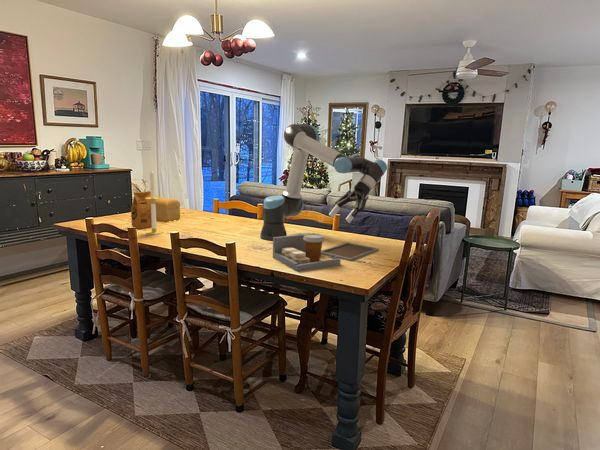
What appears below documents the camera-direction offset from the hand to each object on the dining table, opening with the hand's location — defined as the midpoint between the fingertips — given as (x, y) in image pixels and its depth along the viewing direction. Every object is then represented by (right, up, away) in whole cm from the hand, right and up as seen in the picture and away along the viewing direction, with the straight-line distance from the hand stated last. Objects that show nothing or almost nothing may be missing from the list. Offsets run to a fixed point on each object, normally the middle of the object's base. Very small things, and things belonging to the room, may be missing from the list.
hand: (338, 218), depth 200 cm
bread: (-113, +1, +83) cm, 140 cm away
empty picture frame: (+6, -18, +12) cm, 22 cm away
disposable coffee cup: (-13, -20, -4) cm, 24 cm away
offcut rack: (-16, -20, -5) cm, 26 cm away
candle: (-104, -8, +43) cm, 112 cm away
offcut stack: (-21, -21, -8) cm, 31 cm away
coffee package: (-115, -4, +57) cm, 129 cm away
